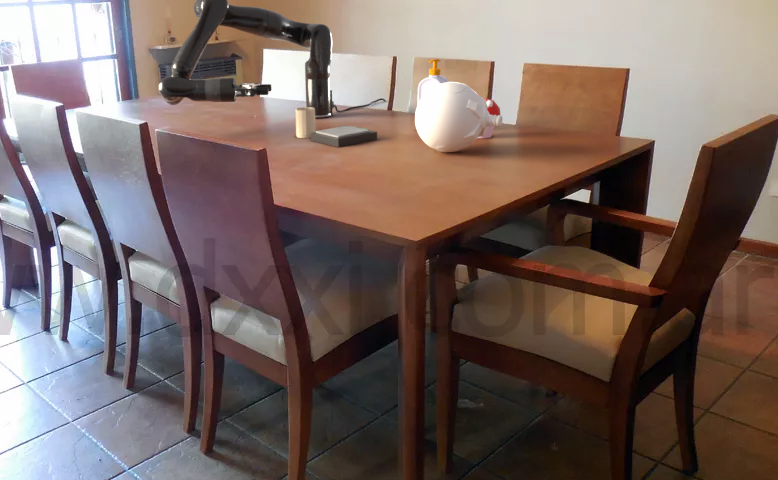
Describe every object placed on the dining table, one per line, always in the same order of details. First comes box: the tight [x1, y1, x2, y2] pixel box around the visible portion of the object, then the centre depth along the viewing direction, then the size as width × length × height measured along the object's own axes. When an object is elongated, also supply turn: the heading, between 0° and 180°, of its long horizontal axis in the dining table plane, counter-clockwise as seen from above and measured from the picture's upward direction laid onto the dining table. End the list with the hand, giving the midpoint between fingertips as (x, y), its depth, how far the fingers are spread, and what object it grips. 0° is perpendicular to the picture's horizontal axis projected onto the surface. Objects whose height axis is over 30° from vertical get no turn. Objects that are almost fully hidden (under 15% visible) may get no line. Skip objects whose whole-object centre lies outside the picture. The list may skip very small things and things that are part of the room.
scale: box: [310, 125, 378, 148], centre depth 219 cm, size 16×14×3 cm
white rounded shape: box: [414, 81, 503, 153], centre depth 195 cm, size 20×25×20 cm
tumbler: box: [294, 106, 317, 139], centre depth 226 cm, size 6×6×9 cm
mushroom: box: [476, 97, 501, 139], centre depth 216 cm, size 11×11×12 cm
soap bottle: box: [416, 58, 450, 107], centre depth 225 cm, size 9×7×23 cm
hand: (269, 89), depth 222 cm, fingers open, 8 cm apart
